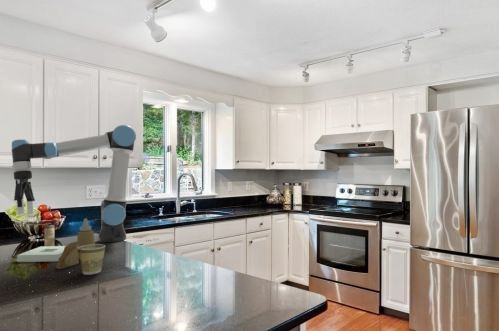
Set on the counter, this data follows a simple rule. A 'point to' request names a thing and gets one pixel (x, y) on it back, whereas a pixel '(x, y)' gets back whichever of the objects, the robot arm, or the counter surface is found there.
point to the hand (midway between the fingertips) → (26, 214)
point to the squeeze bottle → (85, 235)
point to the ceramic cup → (91, 258)
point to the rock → (69, 256)
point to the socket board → (41, 254)
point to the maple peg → (49, 235)
